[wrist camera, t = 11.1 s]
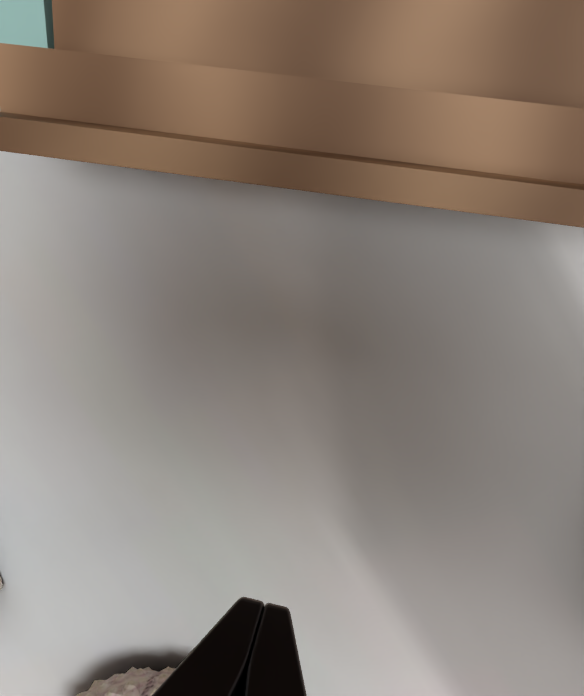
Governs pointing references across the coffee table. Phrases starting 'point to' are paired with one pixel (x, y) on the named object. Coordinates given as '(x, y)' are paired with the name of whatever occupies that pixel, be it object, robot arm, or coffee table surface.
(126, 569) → the coffee table surface
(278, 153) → the brown wooden box
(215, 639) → the robot arm
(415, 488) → the coffee table surface
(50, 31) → the cover plate
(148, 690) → the sea urchin shell
